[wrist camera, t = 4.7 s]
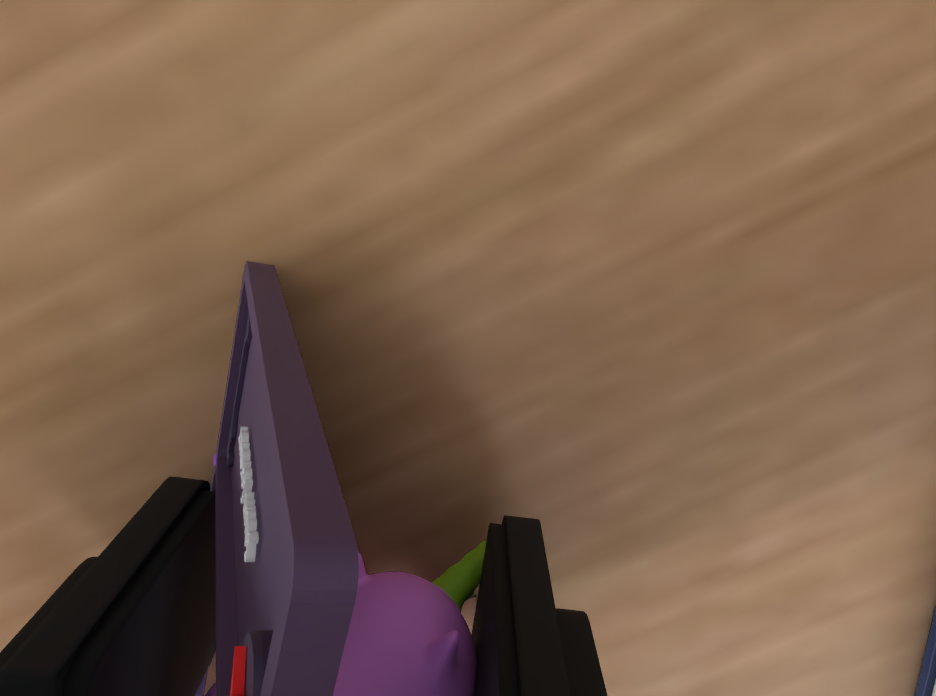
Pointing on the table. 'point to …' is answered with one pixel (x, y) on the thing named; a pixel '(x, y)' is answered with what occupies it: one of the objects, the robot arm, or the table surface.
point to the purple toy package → (312, 546)
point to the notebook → (928, 665)
